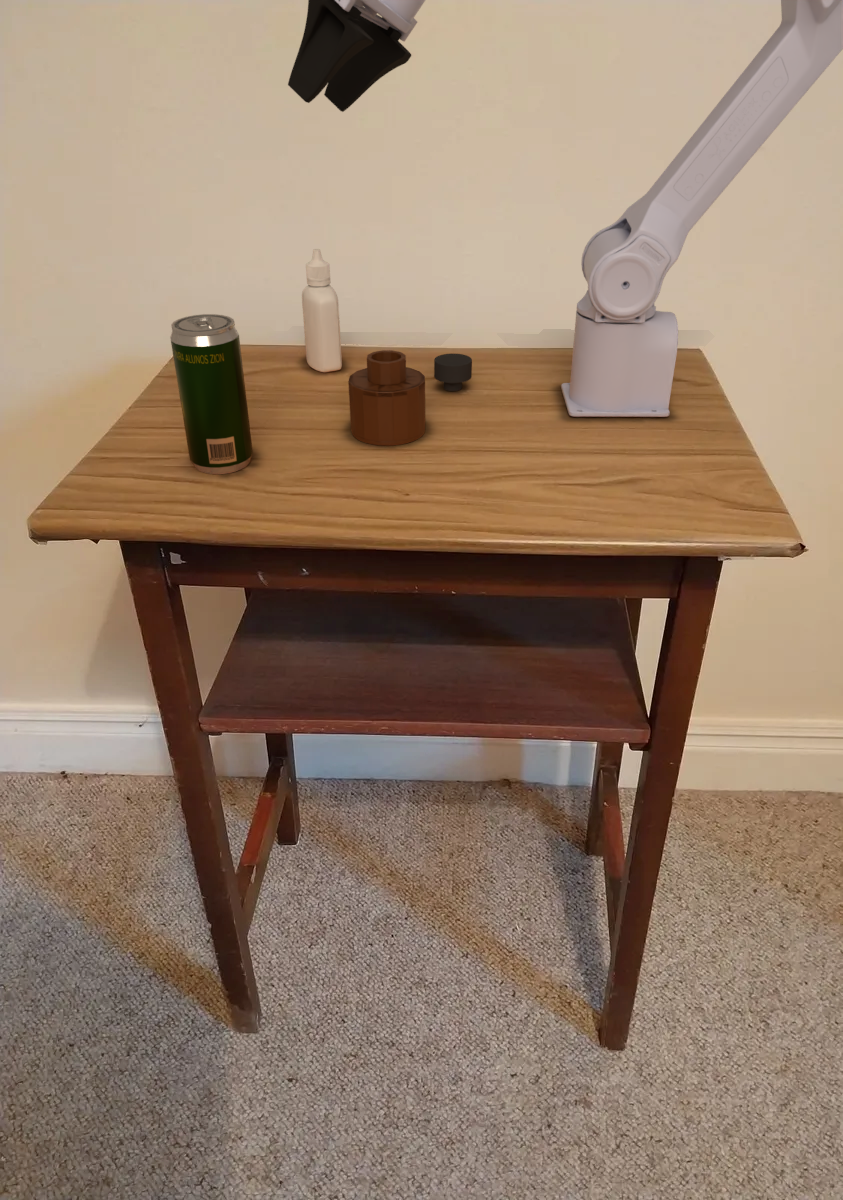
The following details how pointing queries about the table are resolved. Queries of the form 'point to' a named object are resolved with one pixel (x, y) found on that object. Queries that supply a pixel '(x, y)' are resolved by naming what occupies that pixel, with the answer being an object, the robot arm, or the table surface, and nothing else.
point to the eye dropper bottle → (321, 317)
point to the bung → (453, 370)
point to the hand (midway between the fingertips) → (316, 99)
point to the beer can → (212, 392)
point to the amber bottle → (387, 400)
